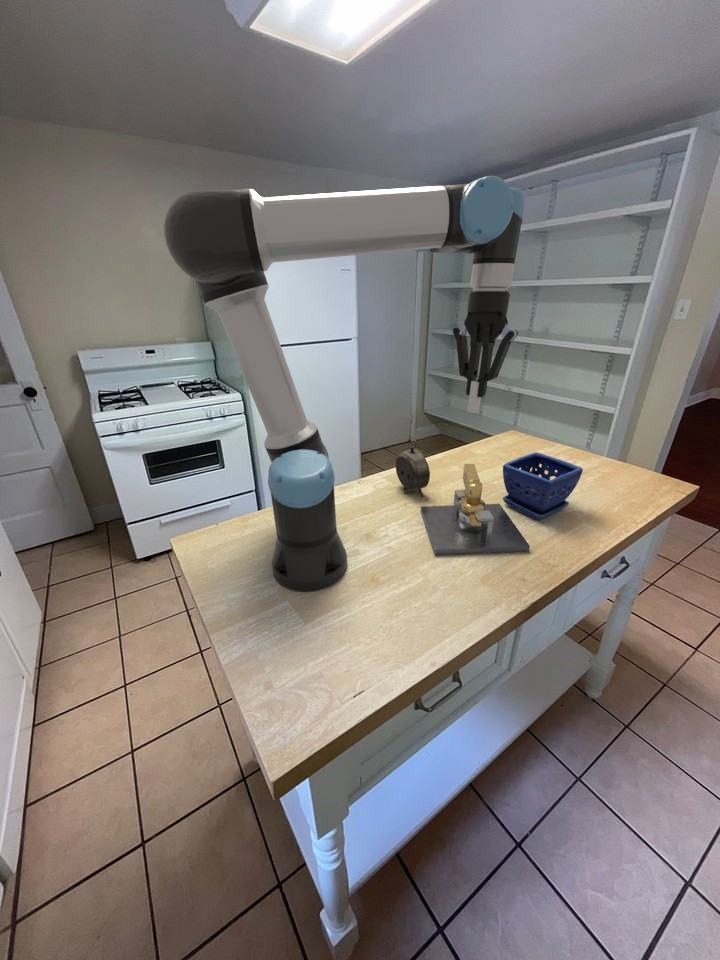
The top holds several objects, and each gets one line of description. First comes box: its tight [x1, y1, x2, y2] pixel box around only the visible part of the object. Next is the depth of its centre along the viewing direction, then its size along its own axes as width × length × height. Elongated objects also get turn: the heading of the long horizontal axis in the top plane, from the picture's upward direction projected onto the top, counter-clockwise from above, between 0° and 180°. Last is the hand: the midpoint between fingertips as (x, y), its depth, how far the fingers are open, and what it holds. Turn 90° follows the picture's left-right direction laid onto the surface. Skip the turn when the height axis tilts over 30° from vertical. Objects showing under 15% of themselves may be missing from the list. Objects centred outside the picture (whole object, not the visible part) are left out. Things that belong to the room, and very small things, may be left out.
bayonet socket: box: [420, 489, 531, 556], centre depth 87 cm, size 20×18×7 cm
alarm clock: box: [395, 435, 431, 498], centre depth 103 cm, size 11×5×16 cm, turn 27°
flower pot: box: [502, 451, 584, 521], centre depth 95 cm, size 13×13×12 cm
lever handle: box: [460, 463, 486, 526], centre depth 87 cm, size 17×5×7 cm, turn 172°
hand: (473, 410), depth 83 cm, fingers closed
